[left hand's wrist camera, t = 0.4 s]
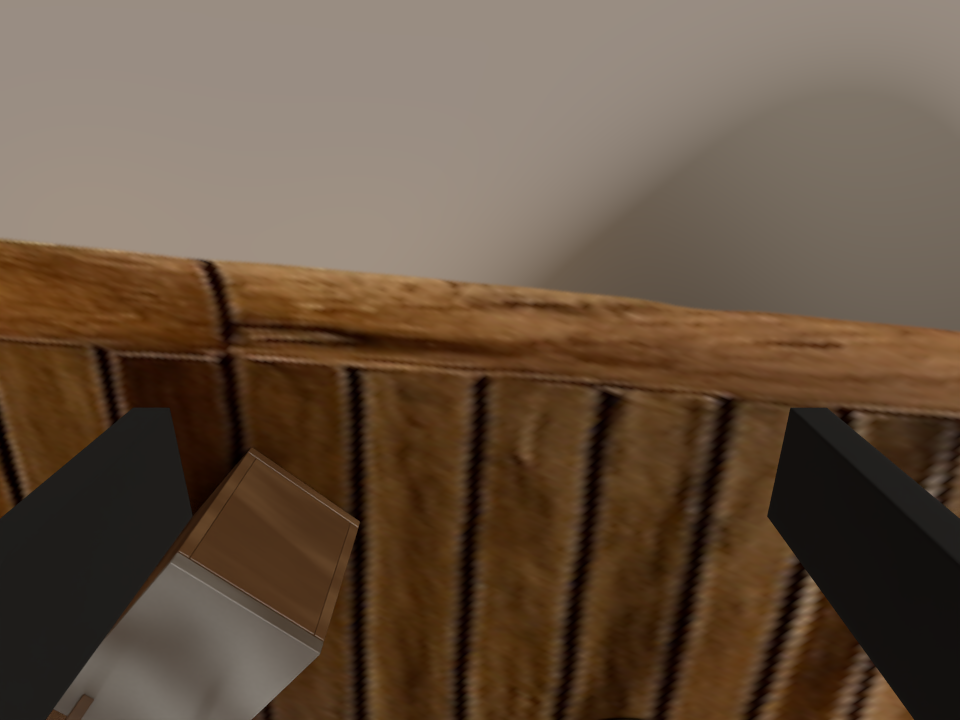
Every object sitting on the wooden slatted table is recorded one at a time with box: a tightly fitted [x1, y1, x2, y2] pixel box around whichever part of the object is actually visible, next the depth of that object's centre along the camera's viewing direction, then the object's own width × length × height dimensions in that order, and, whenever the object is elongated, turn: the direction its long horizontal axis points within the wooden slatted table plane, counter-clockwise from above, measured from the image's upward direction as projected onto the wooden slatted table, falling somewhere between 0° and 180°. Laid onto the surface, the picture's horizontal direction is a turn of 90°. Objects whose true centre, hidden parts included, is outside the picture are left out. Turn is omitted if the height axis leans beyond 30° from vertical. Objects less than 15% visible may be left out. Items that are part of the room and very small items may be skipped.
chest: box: [112, 447, 360, 641], centre depth 41 cm, size 13×10×11 cm
